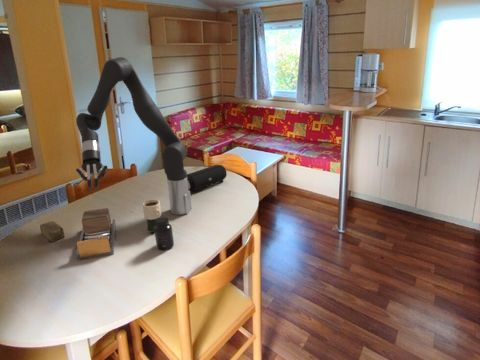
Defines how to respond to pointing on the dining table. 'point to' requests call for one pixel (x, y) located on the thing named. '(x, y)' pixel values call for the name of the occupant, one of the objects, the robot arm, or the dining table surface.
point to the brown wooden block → (96, 220)
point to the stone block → (52, 231)
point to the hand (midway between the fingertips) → (93, 188)
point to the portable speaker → (206, 177)
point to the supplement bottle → (163, 234)
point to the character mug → (151, 213)
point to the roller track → (96, 243)
